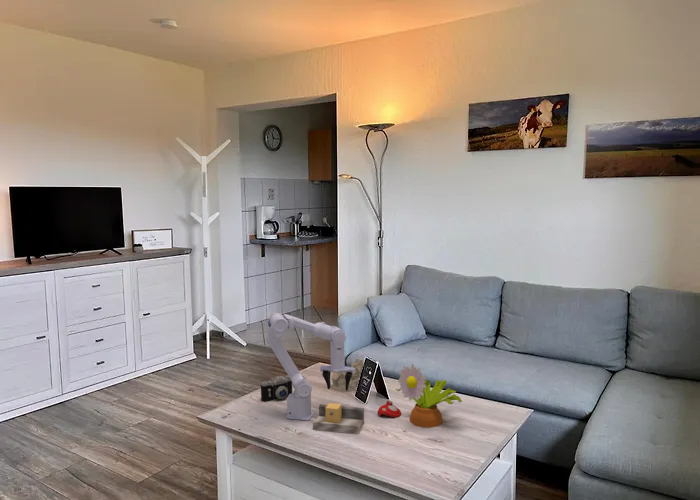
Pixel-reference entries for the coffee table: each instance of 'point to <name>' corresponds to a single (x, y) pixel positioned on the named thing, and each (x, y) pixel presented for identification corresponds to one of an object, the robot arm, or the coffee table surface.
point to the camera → (276, 388)
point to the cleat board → (348, 423)
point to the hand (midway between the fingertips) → (338, 388)
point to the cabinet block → (333, 413)
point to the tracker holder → (389, 410)
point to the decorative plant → (424, 397)
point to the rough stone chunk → (340, 381)
